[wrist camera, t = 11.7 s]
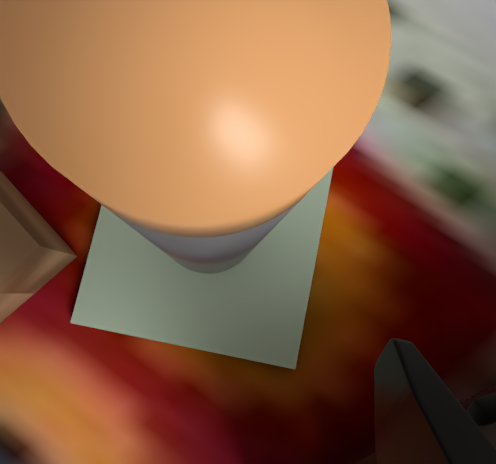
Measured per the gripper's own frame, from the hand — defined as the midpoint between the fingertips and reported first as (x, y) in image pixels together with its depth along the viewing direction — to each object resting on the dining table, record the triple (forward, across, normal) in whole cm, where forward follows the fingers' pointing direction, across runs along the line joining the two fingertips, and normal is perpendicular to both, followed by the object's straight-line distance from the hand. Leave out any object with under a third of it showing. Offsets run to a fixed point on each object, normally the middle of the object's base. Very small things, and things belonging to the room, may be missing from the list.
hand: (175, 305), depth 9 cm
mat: (+8, 0, +5) cm, 10 cm away
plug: (+8, 0, +4) cm, 9 cm away
